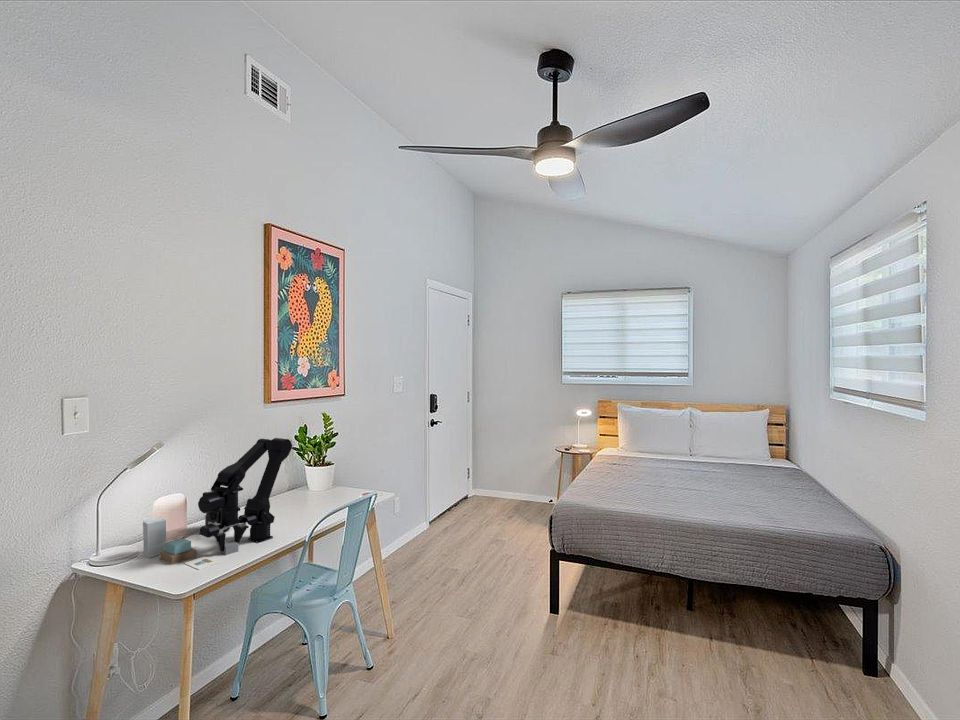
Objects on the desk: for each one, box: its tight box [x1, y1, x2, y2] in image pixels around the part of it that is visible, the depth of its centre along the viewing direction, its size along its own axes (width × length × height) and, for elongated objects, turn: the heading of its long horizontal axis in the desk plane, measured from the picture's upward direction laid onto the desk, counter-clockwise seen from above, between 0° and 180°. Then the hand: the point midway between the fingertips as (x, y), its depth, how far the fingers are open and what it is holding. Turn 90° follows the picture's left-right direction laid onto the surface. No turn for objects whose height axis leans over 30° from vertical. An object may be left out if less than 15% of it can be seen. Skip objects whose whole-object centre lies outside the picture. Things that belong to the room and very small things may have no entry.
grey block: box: [219, 539, 239, 556], centre depth 187 cm, size 4×4×3 cm
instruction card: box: [183, 556, 220, 571], centre depth 176 cm, size 7×9×1 cm
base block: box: [159, 547, 197, 565], centre depth 180 cm, size 8×8×3 cm
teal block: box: [166, 537, 192, 555], centre depth 180 cm, size 6×6×3 cm
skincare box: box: [142, 517, 167, 559], centre depth 183 cm, size 6×4×12 cm
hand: (229, 548), depth 187 cm, fingers closed on grey block, 5 cm apart
